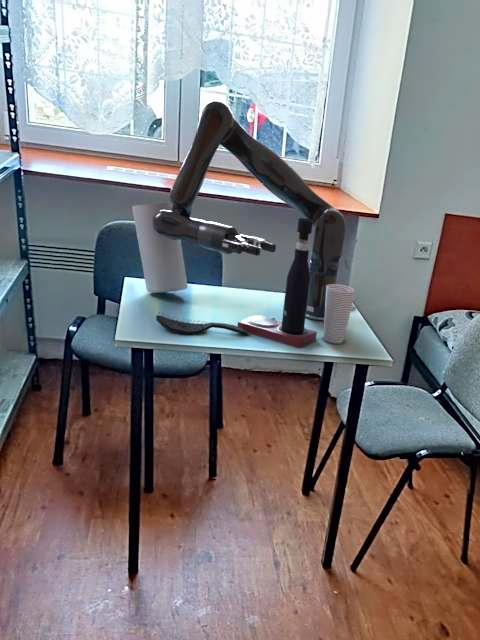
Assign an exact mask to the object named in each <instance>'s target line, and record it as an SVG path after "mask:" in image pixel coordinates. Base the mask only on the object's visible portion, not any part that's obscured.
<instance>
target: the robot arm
mask: <svg viewBox="0 0 480 640" xmlns="http://www.w3.org/2000/svg"><path fill="white" fill-rule="evenodd" d="M220 146H221V147H222V148H224V149H225V150H226V151H227V152H229V153H230V154H232V155H233V156H234V157H235V158H236V159H237V160H238V161H239V162H240V163H241V164H242V165H243V166H244V168H245V169H246V170H247V171H248V172H249V173H250V174H251V175H252V177H254V178H255V179H256V180H257V181H258V182H259V183H260V184H261V185H262V186H263V187H264V188H266V189H267V190H268V191H269V192H270V193H271V194H273V195H274V196H275V197H276V198H277V199H279V200H281V201H282V202H284V203H285V204H287V205H288V206H290V207H292V208H293V209H295V210H296V211H297V212H299V214H301V216H302V217H303V218H305V219H310V220H312V221H313V224H312V228H314V233H313V240H312V247H311V252H310V261H309V271H310V285H309V293H308V301H307V309H306V316H305V318H307V319H309V320H314V321H320V322H324V318H325V301H326V285H328V284H338V280H339V279H338V277H339V271H340V266H341V265H340V264H341V259H342V257H343V251H344V245H345V244H344V243H345V239H346V231H347V222H346V219H345V217H344V216H343V214H342V212H341V211H340V210H338V209H337V208H336V207H334V206H333V205H331V204H329V202H327V201H326V200H324V199H323V198H322V197H320V196H319V195H318V194H317V193H316V192H315V191H314V190H313V189H311V188H310V186H309V185H308V184H307V182H306V181H305V180H304V179H303V178H302V177H301V176H300V174H299V173H298V172H296V170H295V169H294V168H293V167H292V166H291V165H289V164H288V163H287V162H286V161H285V160H284V159H283V158H282V157H281V156H280V155H279V154H277V153H276V152H275V151H274V150H272V149H271V148H269V147H268V146H266V145H265V144H264V143H262V142H261V141H259V140H258V139H256V138H254V137H253V136H252V135H251V134H250V133H248V131H247V130H246V129H245V128H244V127H243V126H242V125H241V124H240V123H239V122H238V121H237V120H236V118H234V115H233V112H232V110H231V108H230V107H229V106H228V105H227V104H226V103H225V102H223V101H222V100H221V101H220V100H211V101H208V102H206V103H205V104H204V105H203V106H202V108H201V110H200V113H199V120H198V125H197V129H196V133H195V135H194V139H193V141H192V143H191V146H190V149H189V151H188V153H187V155H186V157H185V159H184V161H183V163H182V166H181V167H180V169H179V172H178V174H177V175H176V178H175V180H174V182H173V184H172V187H171V189H170V191H169V194H168V199H169V201H170V203H173V208H172V212H171V211H167V210H161V211H158V212H156V213H155V214H154V216H153V218H152V226H153V228H154V230H155V231H156V232H157V233H158V234H160V235H162V236H164V237H167V238H169V239H172V240H179V239H180V240H182V241H184V242H186V243H188V244H191V245H195V246H199V247H202V248H204V249H206V250H210V251H213V252H218V253H220V254H225V255H232V254H233V253H236V254H238V255H241V254H244V255H245V254H249V255H253V256H255V257H258V256H260V255H261V251H265V252H266V251H267V252H270V253H275V252H276V249H277V244H276V243H272V242H268V241H267V239H265V238H261V237H257V236H253V235H250V234H249V235H246V234H240V235H239V233H238V230H237V229H236V228H235V227H234V226H231V225H227V224H222V223H219V222H215V221H206V220H203V219H198V218H193V217H192V210H193V206H194V204H195V201H196V200H197V197H198V195H199V193H200V191H201V188H202V186H203V183H204V181H205V178H206V175H207V172H208V170H209V168H210V164H211V163H212V160H213V158H214V156H215V155H216V152H217V151H218V149H219V147H220Z"/></svg>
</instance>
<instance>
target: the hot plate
mask: <svg viewBox="0 0 480 640" xmlns="http://www.w3.org/2000/svg"><path fill="white" fill-rule="evenodd" d="M281 326H282V320H277V319H276V318H275V317H269V316H265V315H261V314H255V315H252V316H249V317H247V318H244V319H242V320H238V321H237V327H240V328H242V329H244V330H246V331H248V334H251V335H255V336H258V337H261V338H265V339H268V340H272V341H274V342H278V343H281V344H285V345H288V346H291V347H294V348H301V347H303V346H305V345H307V344H309V343H312V342H313V341H315V340H316V339H317V333H318V331H315V330H313V329H308V328H306V327H305V326H304V331H303V332H301V333H291V332H287V331H285V330H283V329H282V328H281Z"/></svg>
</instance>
